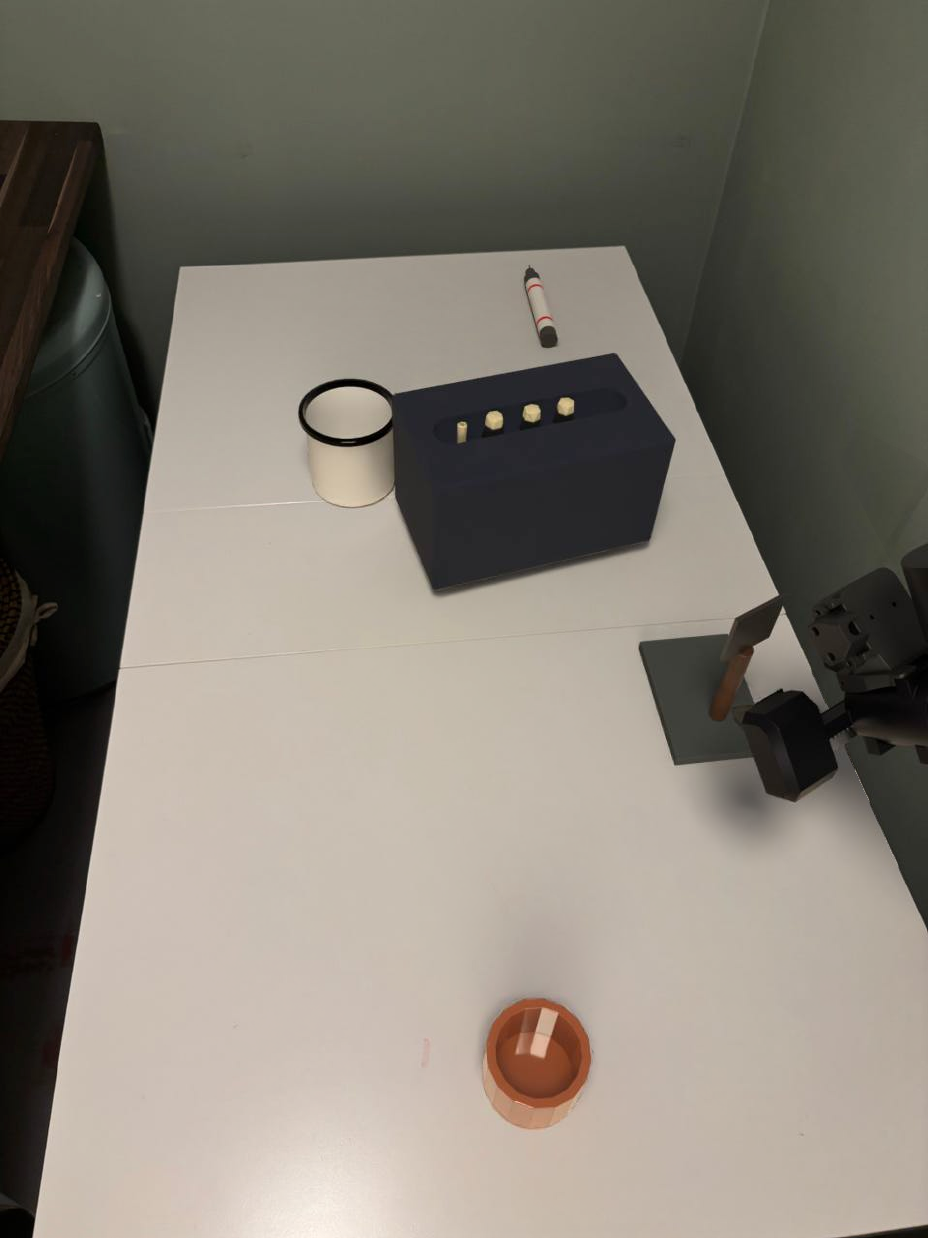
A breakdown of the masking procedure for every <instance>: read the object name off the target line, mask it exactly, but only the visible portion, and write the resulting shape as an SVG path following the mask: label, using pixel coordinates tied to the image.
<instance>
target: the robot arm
mask: <svg viewBox="0 0 928 1238" xmlns="http://www.w3.org/2000/svg"><path fill="white" fill-rule="evenodd" d="M900 567H901V570H902V573H903V576H904V579H905V583H906V585H907V589H908V590H906V587H905V586H904V584H903V583H902V581H901V579H900V578H899V577H898V575H897V574H896V573H895V572H894V571H893V570H892V569H891V568H888V567H884V566H883V567H878V568H876V569H874V570H872V571H870V572H869V573H867V574H865V575H862V576H861V577H859V578H858V579H856V580H853V581H852V582H850V583H848V584H847V585H844V586H843V587H841V588H839V589H837V590H836V591H834V592H832V593H831V594H829V595H827V596H825V597H823V598H822V599H820V600H818V601H817V602H815V603H814V605H813V607H812V609H811V614H812V618H813V622H811V623H809V624H808V625H806V636H807V637H808V638H807V639H808V640H809V642H810V643H811V644H812V646H813V648H814V649H815V651H816V653H817V654H818V656H819V658H820V659H821V661H822V663H823V666H824V668H825V669H827V670H829V671H831V672H833V673H835V677H836V679H837V683H838V685H839V689H840V690H841V692H843V693H844V695H843V696H844V697H843V699H842V700H840V701H838V702H837V703H835V704H834V705H832V706H831V707H829V708H827V709H825V710H824V711H823V712H821V711H820V707H819V705H818V704H817V703H816V702H815V701H814V700H813V699H812V698H810V696H808V695H807V693H806V692H805V691H803V690H796V689H795V690H794V689H790V690H786V691H785V690H784V689H783V687H780V688H779V689H777V690H776V691H774V692H772V693H770V694H769V695H767V696H765V697H764V698H762V699H760V700H759V701H757V702H754V703H755V704H754V705H742V706H735V707H733V708H731V712H732V715H733V718H734V720H735V722H736V723H737V724H738V725H739V726H740V727H741V728H742V729H743V730H744V732H745V735H746V738H747V741H748V744H749V746H750V749H751V752H752V755H753V757H752V758H753V760H754V764H755V766H756V769H757V771H758V775H759V777H760V780H761V784H762V786H763V790H764V792H765V794H767V795H768V796H771V797H773V798H776V799H780V800H784V801H787V802H792V803H797V802H799V801H800V800H801V799H804V797H806V796H808V795H809V794H811V793H812V792H814V791H815V790H816V789H818V788H820V787H821V786H823V785H824V784H825V783H827V782H829V781H830V780H832V779H833V778H834V776H836V775H835V774H836V773H837V772H838V769H839V764H838V761H837V758H836V754H835V753H834V751H836V750H838V749H839V748H841V747H843V746H844V745H845V744H847V743H849V742H851V741H852V740H853V739H855V738H856V737H858V736H862V739H863V742H864V745H865V748H866V751H867V754H868V755H873V756H878V757H881V756H883V755H884V754H886V753H887V752H889V751H890V750H892V749H894V748H895V747H897V746H899V747H906V748H912V749H915V751H916V754H917V757H918V761H919V764H921V765H926V766H928V542H927V543H925V544H922V545H920V546H918V547H916V548H914V549H912V550H911V551H909V552H908V553H906V554H905V555H904V556H903V557H902V558H901V559H900ZM908 592H909V593H908Z"/></svg>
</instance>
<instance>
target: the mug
mask: <svg viewBox="0 0 928 1238" xmlns="http://www.w3.org/2000/svg"><path fill="white" fill-rule="evenodd" d="M393 395H394V394H393V393H392V392H390V390H389V389H387V388H386V387H384V386H382V385H381V384H379V383H376V382H373V381H371V380H367V379H361V378H339V379H334V380H329V381H326V382H323V383H321V384H319V385H317V386H315V387H313V388H312V389H310V391H308V392H306V394H305V395H304V396H303V398H302V399H301V400H300V401H299V405H298V411H297V418H298V423H299V425H300V427H301V429H302V430H303V432H305V433H306V441H307V443H306V444H307V450H308V451H307V452H308V456H309V457H308V458H309V467H310V476H311V482H312V487H313V489H314V490H315V492H316V493H317V494H318V496H319V497H321V498H322V499H323V500H325V501H326V502H329V503H331V504H333V505H336V506H339V507H340V506H341V507H347V508H357V507H358V508H359V507H364V506H367V505H371V504H374V503H376V502H379V501H380V500H382V499H383V498H384V497H386V496H387V495H388V494H389V493H390V492H391V490H392V489H393V487H394V486H395V476H394V450H393V423H392V396H393Z"/></svg>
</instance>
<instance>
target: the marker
mask: <svg viewBox="0 0 928 1238" xmlns="http://www.w3.org/2000/svg"><path fill="white" fill-rule="evenodd" d="M524 274H525V275H524V276H523V277H524V278H523V281H524V285H525V289H526V290H525V291H526V293H527V297H528V300H529V303H530V307H531V311H532V314H533V318H534V320H535V326H536V329H537V332H538V335H539V338H540V341H541V344H542V346H543V347H544V348H553V347H555V346H556V344H558V341H559V338H558V334H557V329H556V326H555V323H554V320H553V316H552V313H551V310H550V306H549V302H548V299H547V297H546V293H545V290H544V286H543V283H542V281H541V278H540V274H539V273H538V272H537V271H535V268H533V267H531V265H530V264H528V268H526V269H525V273H524Z"/></svg>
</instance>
